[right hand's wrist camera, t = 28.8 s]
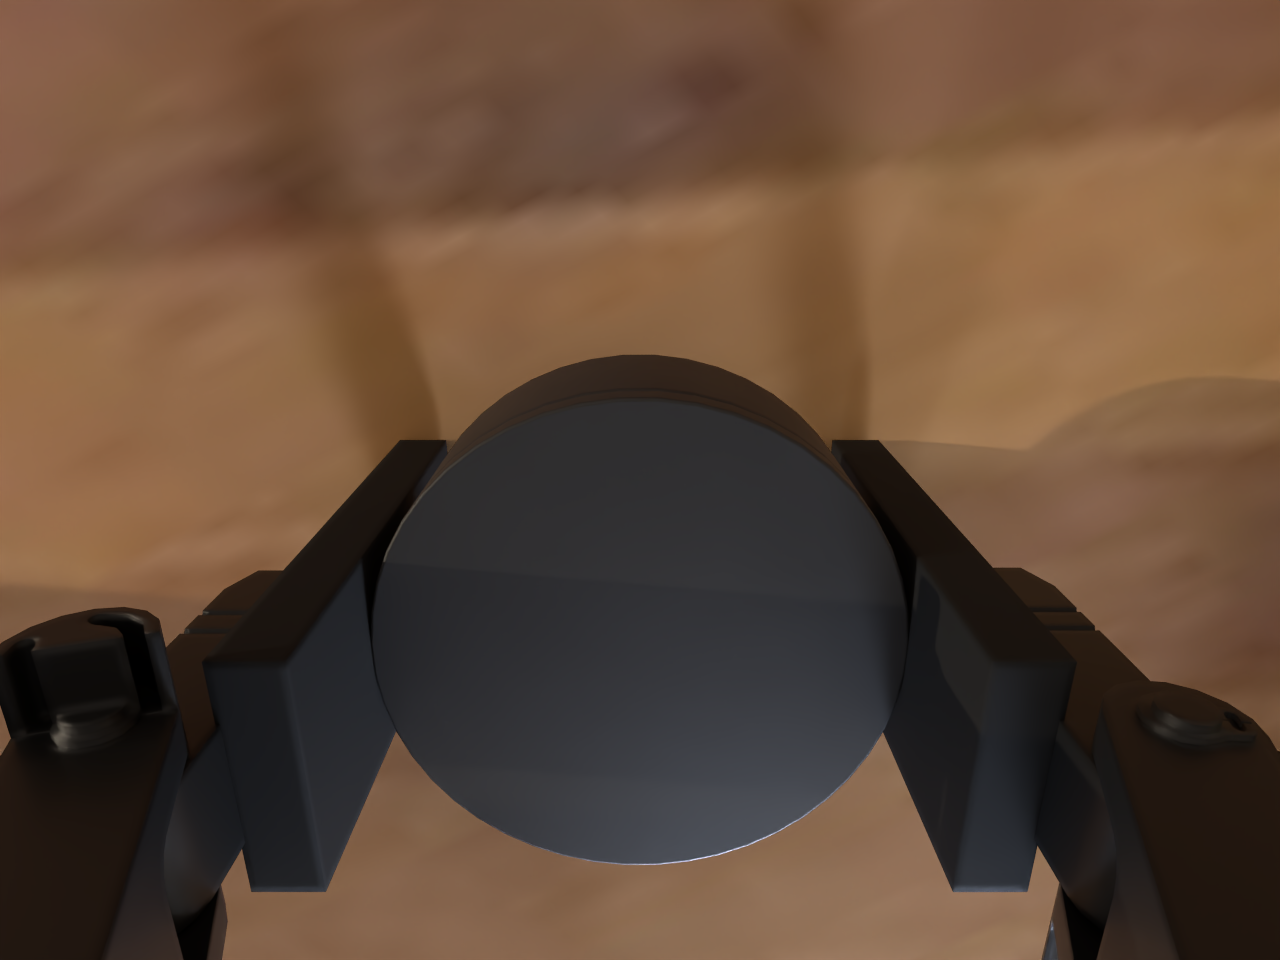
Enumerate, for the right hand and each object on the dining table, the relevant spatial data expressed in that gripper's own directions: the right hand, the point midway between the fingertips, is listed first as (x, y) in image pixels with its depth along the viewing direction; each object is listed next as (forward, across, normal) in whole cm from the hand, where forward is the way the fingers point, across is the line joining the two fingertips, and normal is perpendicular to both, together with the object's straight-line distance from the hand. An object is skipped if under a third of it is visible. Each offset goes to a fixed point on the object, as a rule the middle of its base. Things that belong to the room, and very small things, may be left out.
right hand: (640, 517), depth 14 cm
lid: (-4, 0, 0) cm, 4 cm away
